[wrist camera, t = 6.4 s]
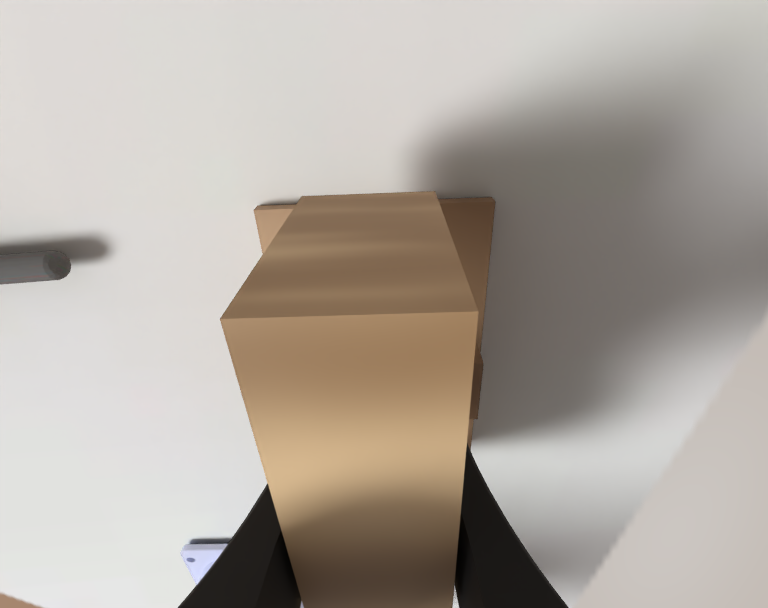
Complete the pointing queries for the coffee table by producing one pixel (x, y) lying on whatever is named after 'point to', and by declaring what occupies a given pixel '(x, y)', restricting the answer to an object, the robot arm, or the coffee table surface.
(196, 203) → the coffee table surface
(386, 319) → the oak bar
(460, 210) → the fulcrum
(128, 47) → the coffee table surface
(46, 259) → the walkie-talkie
